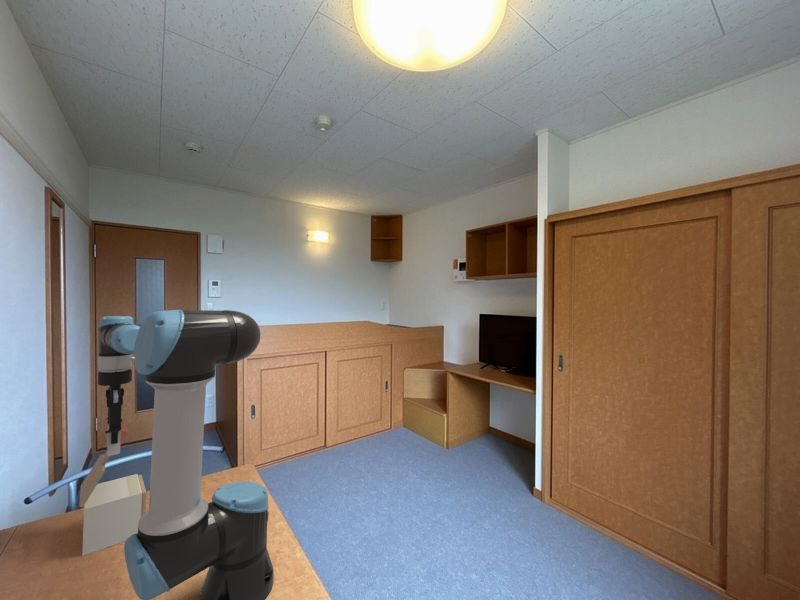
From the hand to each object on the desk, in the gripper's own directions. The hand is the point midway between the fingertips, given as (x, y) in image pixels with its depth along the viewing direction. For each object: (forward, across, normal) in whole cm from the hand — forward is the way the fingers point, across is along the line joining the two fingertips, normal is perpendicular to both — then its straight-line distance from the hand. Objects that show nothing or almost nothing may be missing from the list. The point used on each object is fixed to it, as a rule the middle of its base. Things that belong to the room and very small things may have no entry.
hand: (113, 450), depth 96 cm
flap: (+3, 0, +1) cm, 3 cm away
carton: (+23, 0, 0) cm, 23 cm away
